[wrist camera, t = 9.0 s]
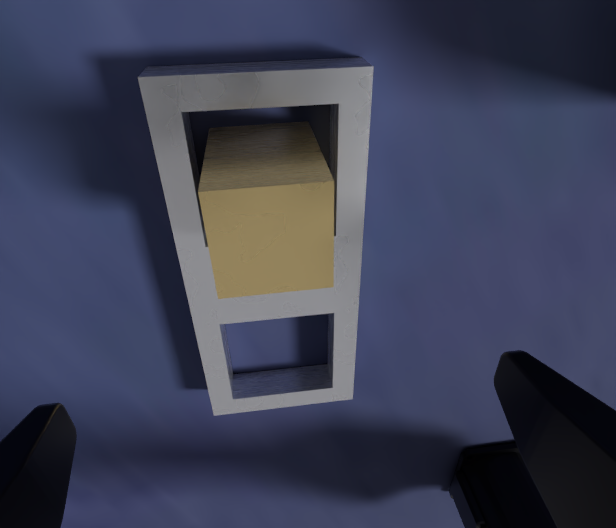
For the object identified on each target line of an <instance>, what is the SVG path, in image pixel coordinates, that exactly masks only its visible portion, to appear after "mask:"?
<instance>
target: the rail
mask: <svg viewBox="0 0 616 528" xmlns="http://www.w3.org/2000/svg"><path fill="white" fill-rule="evenodd" d="M373 67H374V66H372V65H371V64H370V63H368V62H367V61H366V60H365V59H363V58H362V57H356V58H333V59H311V60H288V61H265V62H242V63H219V64H196V65H173V66H150V67H146V68H145V69H144V71H143V72H142V73H141V74H140V75H139V76H138V81H139V85H140V90H141V94H142V99H143V103H144V108H145V112H146V116H147V121H148V125H149V130H150V134H151V139H152V143H153V147H154V152H155V156H156V161H157V165H158V170H159V174H160V178H161V183H162V187H163V192H164V196H165V201H166V205H167V209H168V214H169V218H170V223H171V227H172V232H173V236H174V241H175V245H176V249H177V254H178V258H179V263H180V267H181V272H182V276H183V280H184V285H185V289H186V294H187V298H188V303H189V307H190V311H191V316H192V320H193V325H194V329H195V334H196V338H197V342H198V347H199V351H200V356H201V360H202V365H203V369H204V373H205V378H206V382H207V387H208V391H209V396H210V400H211V404H212V409H213V413H214V416H215V415H224V414H232V413H240V412H249V411H257V410H265V409H274V408H282V407H290V406H299V405H307V404H315V403H324V402H332V401H340V400H349V399H353V386H354V370H355V354H356V338H357V322H358V306H359V290H360V274H361V258H362V242H363V226H364V210H365V194H366V178H367V162H368V147H369V131H370V115H371V99H372V83H373ZM324 104H330V172H331V175H332V177H333V179H334V287H331V288H321V289H311V290H302V291H292V292H282V293H272V294H263V295H253V296H243V297H233V298H224V299H218V296H217V291H216V285H215V280H214V275H213V269H212V264H211V259H210V253H209V248H208V243H207V237H206V232H205V227H204V221H203V216H202V211H201V205H200V200H199V195H198V189H199V184H200V177H199V171H198V165H197V159H196V153H195V147H194V141H193V136H192V130H191V124H190V118H189V112H194V111H212V110H231V109H250V108H268V107H287V106H305V105H324ZM318 314H328V359H327V364H323V365H314V366H305V367H296V368H287V369H278V370H269V371H260V372H251V373H242V374H233V370H232V364H231V358H230V352H229V346H228V341H227V335H226V329H225V324H229V323H239V322H249V321H258V320H268V319H278V318H288V317H298V316H308V315H318Z"/></svg>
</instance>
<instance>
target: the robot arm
mask: <svg viewBox="0 0 616 528" xmlns="http://www.w3.org/2000/svg"><path fill="white" fill-rule="evenodd" d="M494 386H495V390H496V392H497V395H498V397H499V400H500V403H501V405H502V408H503V411H504V413H505V416H506V418H507V421H508V424H509V426H510V429H511V431H512V434H513V437H514V439H515V442H516V443H512V444H504V445H497V446H489V447H482V448H475V449H468V450H465V451H463V452H462V453H461V456H460V459H459V462H458V465H457V468H456V471H455V474H454V477H453V481H452V484H451V487H450V490H449V493H450V496H451V498H453V499H454V502H455V504H456V507H457V509H458V512H459V514H460V517H461V519H462V522H463V524H464V527H465V528H616V411H615V410H614V409H612V408H611V407H609V406H608V405H606V404H605V403H603V402H602V401H600V400H599V399H597V398H596V397H594V396H593V395H591V394H589V393H588V392H586V391H585V390H583V389H582V388H580V387H579V386H577V385H576V384H574V383H573V382H571V381H570V380H568V379H567V378H565V377H563V376H562V375H560V374H559V373H557V372H556V371H554V370H553V369H551V368H550V367H548V366H547V365H545V364H544V363H542V362H541V361H539V360H537V359H536V358H534V357H533V356H531V355H530V354H528V353H527V352H525V351H521V350H517V351H509V352H504V353H503V354H502V355H501V358H500V361H499V364H498V367H497V370H496V373H495V376H494ZM75 445H76V428H75V426H74V424H73V422H72V420H71V418H70V416H69V415H68V413H67V411H66V409H65V407H64V406H63V405H62V404H60V403H52V404H44V405H39V406H37V407H36V408H34V409H33V410H32V411H31V412H30V413H29V414H28V415H27V416H26V417H25V418H24V419H23V420H22V421H21V422H20V423H19V424H18V425H17V426H16V427H15V428H14V429H13V430H12V431H11V432H10V433H9V434H8V435H7V436H6V437H5V438H4V439H3V440H2V441H1V442H0V528H60V527H61V523H62V519H63V514H64V509H65V504H66V498H67V492H68V486H69V480H70V474H71V468H72V462H73V456H74V450H75Z"/></svg>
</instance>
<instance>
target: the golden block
mask: <svg viewBox="0 0 616 528" xmlns="http://www.w3.org/2000/svg"><path fill="white" fill-rule="evenodd" d="M198 195H199V200H200V205H201V211H202V216H203V221H204V227H205V232H206V237H207V243H208V248H209V253H210V259H211V264H212V269H213V275H214V280H215V285H216V291H217V296H218V299H224V298H233V297H243V296H253V295H263V294H272V293H282V292H292V291H302V290H311V289H321V288H331V287H334V179H333V177H332V175H331V172H330V170H329V168H328V165H327V163H326V161H325V159H324V156H323V154H322V152H321V149H320V147H319V145H318V143H317V140H316V138H315V136H314V133H313V131H312V129H311V126H310V124H309V122H308V121H306V122H291V123H276V124H262V125H247V126H232V127H217V128H209V133H208V139H207V144H206V150H205V156H204V161H203V167H202V172H201V178H200V184H199V189H198Z"/></svg>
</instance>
